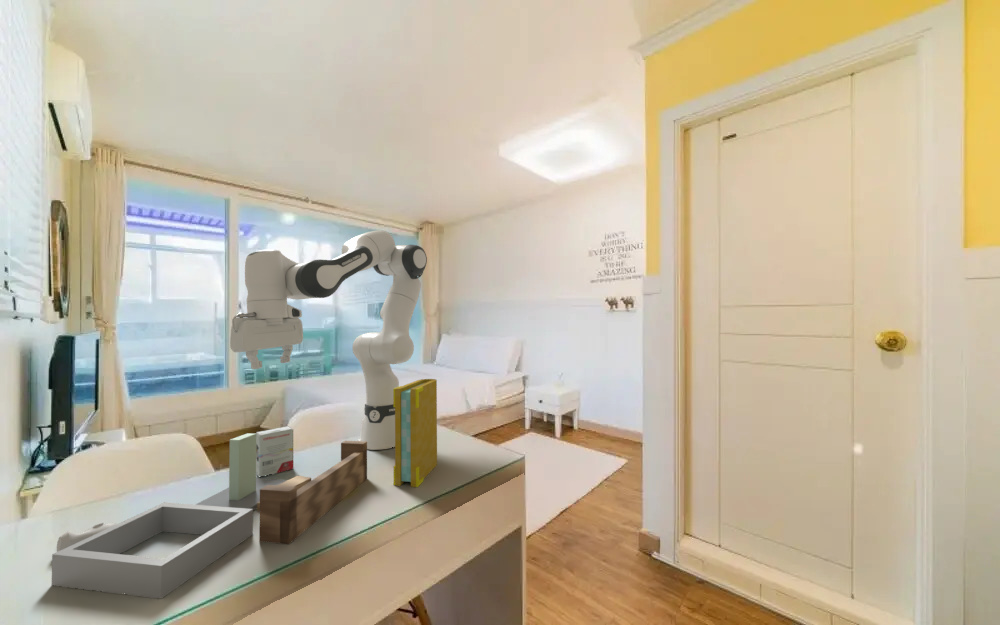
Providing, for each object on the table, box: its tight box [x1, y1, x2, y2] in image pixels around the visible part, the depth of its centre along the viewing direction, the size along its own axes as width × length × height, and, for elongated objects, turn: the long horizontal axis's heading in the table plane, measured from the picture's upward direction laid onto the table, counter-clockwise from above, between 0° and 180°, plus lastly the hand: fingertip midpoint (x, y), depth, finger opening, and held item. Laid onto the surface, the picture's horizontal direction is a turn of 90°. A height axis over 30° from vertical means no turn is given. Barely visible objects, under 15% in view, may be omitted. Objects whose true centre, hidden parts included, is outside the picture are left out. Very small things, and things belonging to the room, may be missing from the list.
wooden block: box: [256, 475, 312, 512], centre depth 86 cm, size 12×5×4 cm, turn 161°
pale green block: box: [228, 432, 257, 500], centre depth 87 cm, size 5×2×14 cm, turn 172°
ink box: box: [255, 425, 294, 478], centre depth 103 cm, size 9×5×12 cm, turn 134°
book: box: [393, 378, 438, 488], centre depth 101 cm, size 17×7×25 cm, turn 168°
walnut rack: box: [258, 440, 368, 545], centre depth 83 cm, size 29×6×10 cm, turn 172°
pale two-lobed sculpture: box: [56, 522, 118, 552], centre depth 69 cm, size 4×8×5 cm
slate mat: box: [194, 477, 288, 511], centre depth 86 cm, size 18×14×1 cm
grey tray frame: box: [51, 502, 254, 600], centre depth 65 cm, size 17×21×5 cm
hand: (271, 365), depth 93 cm, fingers open, 8 cm apart
